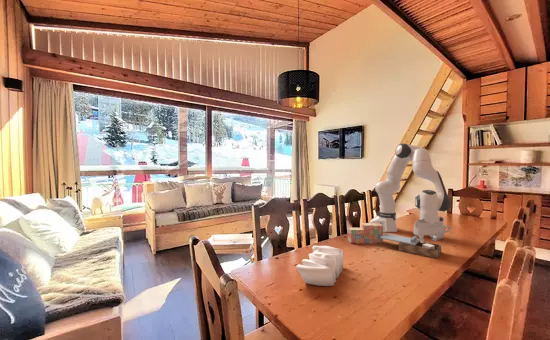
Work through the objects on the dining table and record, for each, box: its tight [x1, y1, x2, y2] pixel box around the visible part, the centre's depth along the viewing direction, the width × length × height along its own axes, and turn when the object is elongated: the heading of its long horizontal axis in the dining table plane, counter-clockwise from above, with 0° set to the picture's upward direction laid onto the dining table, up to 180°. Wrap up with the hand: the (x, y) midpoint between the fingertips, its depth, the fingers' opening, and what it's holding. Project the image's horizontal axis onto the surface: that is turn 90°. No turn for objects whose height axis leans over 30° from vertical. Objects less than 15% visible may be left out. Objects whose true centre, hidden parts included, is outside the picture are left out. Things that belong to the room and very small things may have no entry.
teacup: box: [428, 224, 450, 241], centre depth 173 cm, size 12×15×10 cm
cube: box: [422, 242, 435, 250], centre depth 147 cm, size 4×4×4 cm
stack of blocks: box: [347, 222, 384, 244], centre depth 169 cm, size 21×6×12 cm, turn 89°
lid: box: [380, 233, 420, 245], centre depth 157 cm, size 20×11×3 cm, turn 48°
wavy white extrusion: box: [295, 245, 345, 287], centre depth 122 cm, size 35×16×10 cm, turn 150°
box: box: [398, 241, 442, 260], centre depth 150 cm, size 20×12×5 cm, turn 48°
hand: (428, 241), depth 146 cm, fingers open, 8 cm apart
